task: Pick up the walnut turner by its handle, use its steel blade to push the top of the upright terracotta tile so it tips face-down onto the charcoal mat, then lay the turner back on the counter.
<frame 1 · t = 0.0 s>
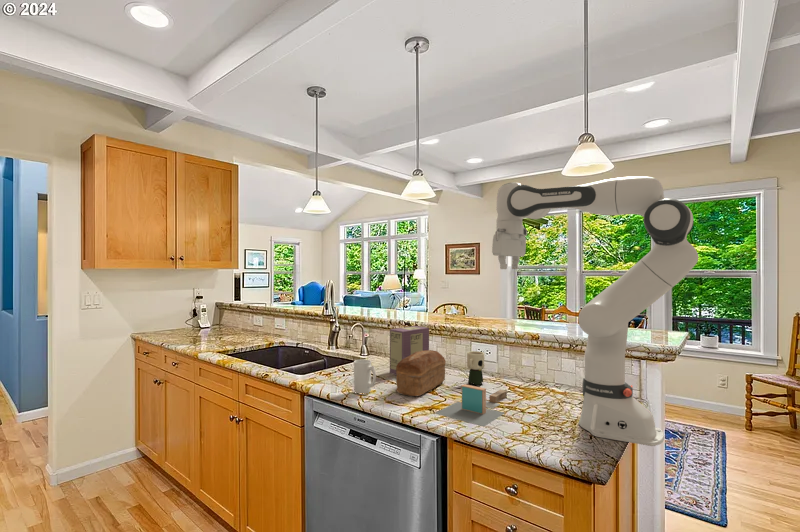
hand: (509, 269, 145), 48 cm above the countertop, tool pointing down, fingers open, 8 cm apart
mat: (469, 414, 136), on the countertop
mug: (365, 393, 160), on the countertop
character mug: (475, 384, 172), on the countertop
bread: (421, 388, 166), on the countertop
tile: (473, 410, 138), point 1 cm above the countertop, touching mat
turner: (492, 404, 147), on the countertop
box: (409, 371, 193), on the countertop
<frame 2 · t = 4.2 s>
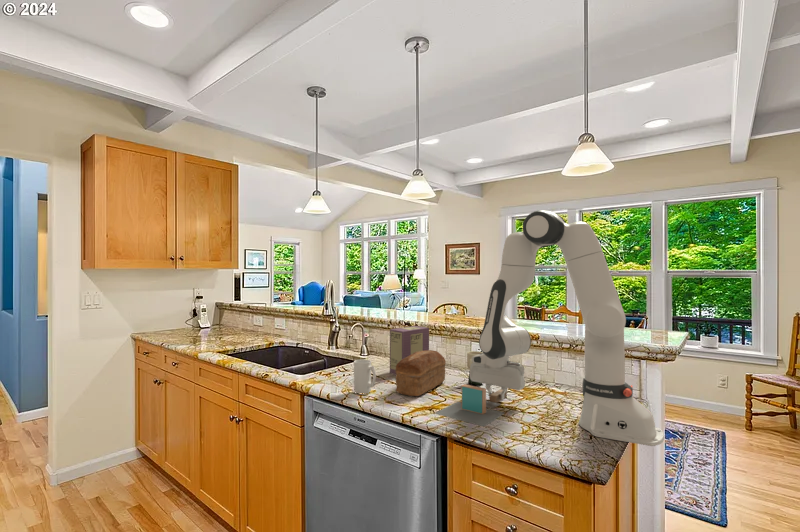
hand: (496, 397, 149), 2 cm above the countertop, tool pointing down, fingers closed on turner, 2 cm apart
turner: (492, 404, 147), on the countertop, touching gripper
everything else where it was.
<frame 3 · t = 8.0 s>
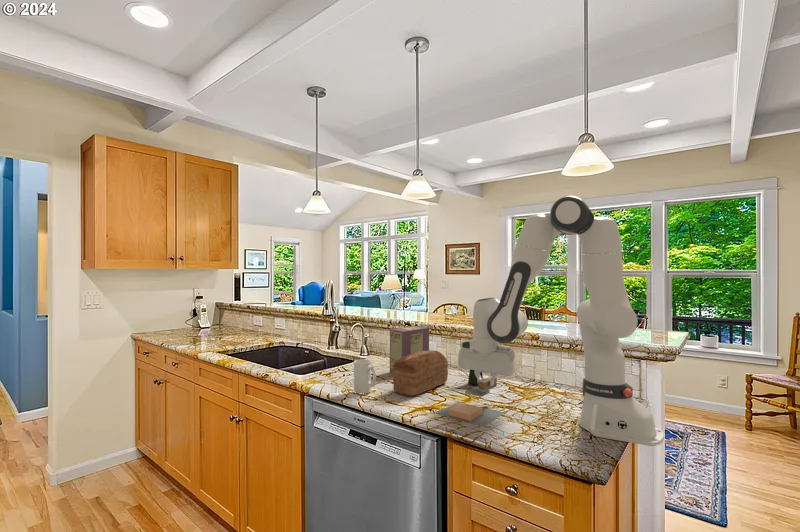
hand: (485, 384, 143), 8 cm above the countertop, tool pointing down, fingers closed on turner, 2 cm apart
tile: (471, 408, 137), point 2 cm above the countertop, tilted 90°, touching mat
turner: (481, 391, 141), point 7 cm above the countertop, touching gripper
when the fingers open (3 cm above the countertop, at t = 11.4 s): turner drops 2 cm, on the countertop.
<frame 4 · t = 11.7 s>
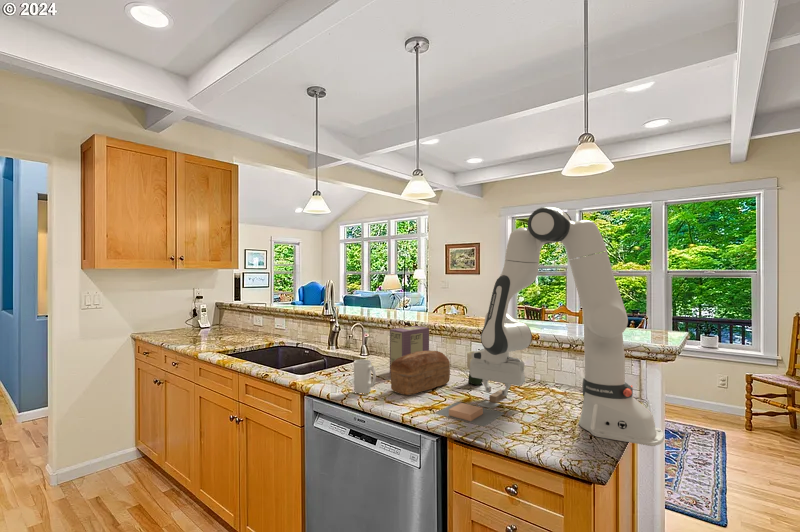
hand: (496, 393, 149), 3 cm above the countertop, tool pointing down, fingers open, 5 cm apart
turner: (492, 404, 147), on the countertop
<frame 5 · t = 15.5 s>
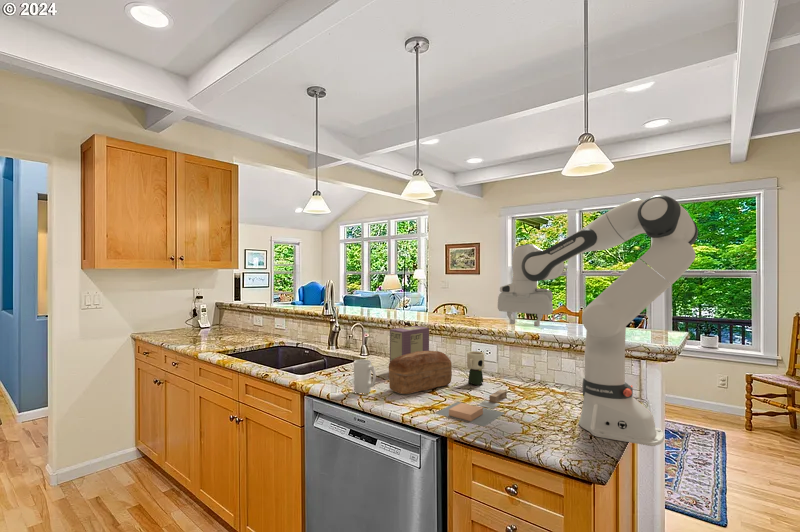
hand: (524, 325, 154), 27 cm above the countertop, tool pointing down, fingers open, 8 cm apart
at the end: tile tilted 90°; tile inside the target area (2.3 cm from its centre), point 1.7 cm above the countertop; turner inside the target area (0.1 cm from its centre), on the countertop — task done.
